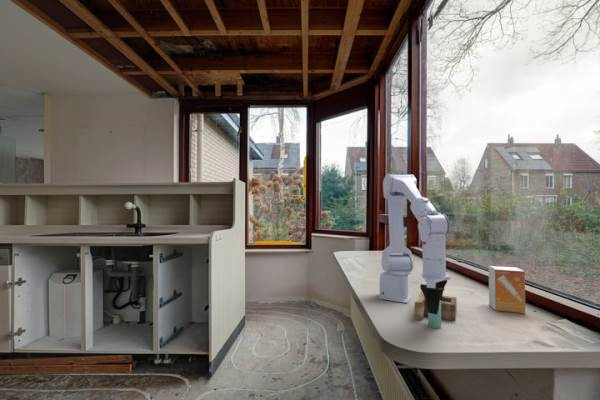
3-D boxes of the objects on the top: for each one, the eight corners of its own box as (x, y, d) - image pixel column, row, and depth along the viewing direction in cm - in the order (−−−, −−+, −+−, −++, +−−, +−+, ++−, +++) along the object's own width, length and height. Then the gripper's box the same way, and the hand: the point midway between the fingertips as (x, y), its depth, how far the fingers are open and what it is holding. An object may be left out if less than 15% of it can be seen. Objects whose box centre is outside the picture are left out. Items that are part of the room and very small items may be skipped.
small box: (495, 311, 89) (494, 269, 89) (488, 304, 95) (488, 265, 95) (526, 314, 86) (525, 271, 87) (517, 307, 92) (516, 267, 93)
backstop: (414, 318, 82) (414, 301, 82) (422, 304, 95) (422, 289, 95) (422, 320, 81) (422, 302, 81) (429, 305, 94) (429, 290, 94)
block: (424, 315, 85) (424, 300, 85) (428, 307, 91) (428, 293, 92) (455, 321, 80) (455, 304, 81) (456, 312, 87) (456, 297, 87)
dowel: (427, 326, 76) (427, 300, 77) (429, 322, 79) (428, 297, 79) (440, 329, 75) (440, 302, 75) (441, 325, 77) (441, 299, 78)
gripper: (448, 264, 69) (449, 320, 69) (452, 256, 82) (453, 304, 81) (417, 261, 73) (418, 315, 72) (425, 254, 85) (426, 299, 85)
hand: (434, 309), depth 77 cm, fingers open, 7 cm apart
